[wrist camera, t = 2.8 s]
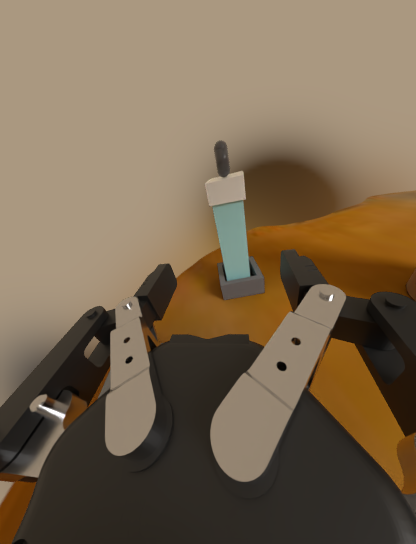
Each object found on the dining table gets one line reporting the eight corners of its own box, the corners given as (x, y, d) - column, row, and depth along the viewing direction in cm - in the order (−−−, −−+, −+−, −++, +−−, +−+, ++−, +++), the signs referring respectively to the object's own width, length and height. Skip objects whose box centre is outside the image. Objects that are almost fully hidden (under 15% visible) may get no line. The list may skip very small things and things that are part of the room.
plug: (251, 275, 29) (239, 136, 18) (253, 291, 26) (240, 132, 15) (228, 277, 30) (203, 146, 19) (227, 293, 27) (196, 145, 16)
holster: (253, 269, 30) (252, 256, 29) (264, 292, 25) (264, 277, 23) (220, 276, 31) (217, 263, 29) (223, 300, 26) (220, 285, 24)
